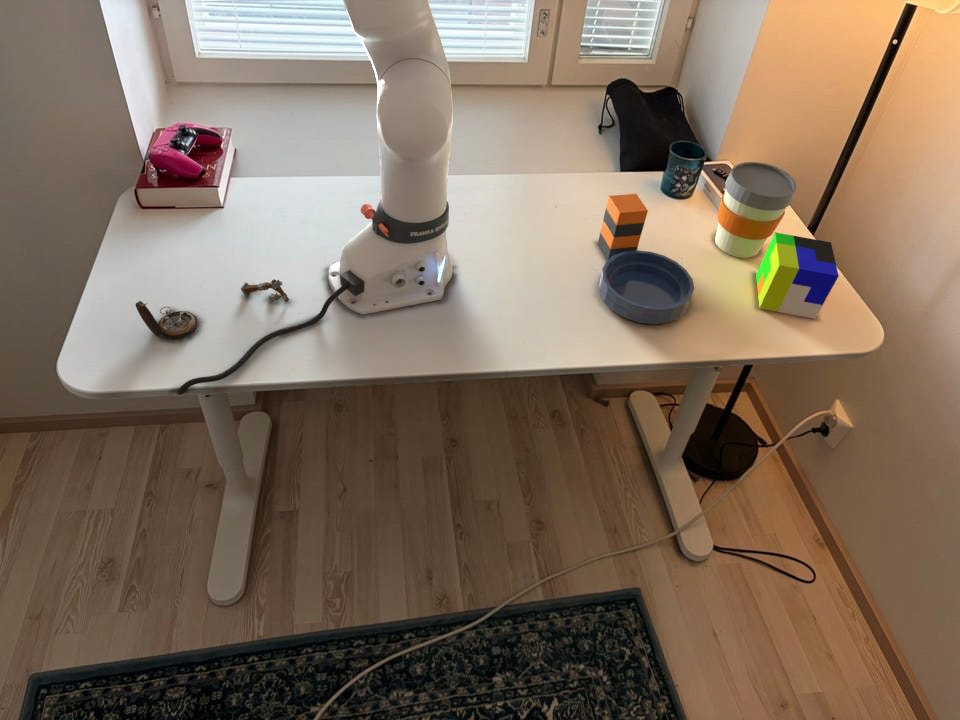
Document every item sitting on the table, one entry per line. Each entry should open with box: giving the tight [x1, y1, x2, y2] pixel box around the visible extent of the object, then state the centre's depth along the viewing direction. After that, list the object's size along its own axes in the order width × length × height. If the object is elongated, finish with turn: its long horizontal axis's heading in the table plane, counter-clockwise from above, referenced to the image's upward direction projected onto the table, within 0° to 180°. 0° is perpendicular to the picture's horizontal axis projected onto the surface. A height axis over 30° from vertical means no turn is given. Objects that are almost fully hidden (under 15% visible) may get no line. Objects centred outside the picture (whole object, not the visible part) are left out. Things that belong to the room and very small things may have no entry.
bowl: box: [598, 249, 695, 325], centre depth 130 cm, size 16×16×4 cm
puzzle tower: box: [597, 193, 649, 261], centre depth 137 cm, size 6×6×11 cm
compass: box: [135, 300, 199, 340], centre depth 115 cm, size 8×8×7 cm
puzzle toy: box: [755, 231, 839, 320], centre depth 131 cm, size 10×10×10 cm
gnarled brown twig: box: [239, 279, 290, 303], centre depth 123 cm, size 2×8×4 cm, turn 75°
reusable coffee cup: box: [714, 161, 797, 259], centre depth 140 cm, size 13×13×15 cm
